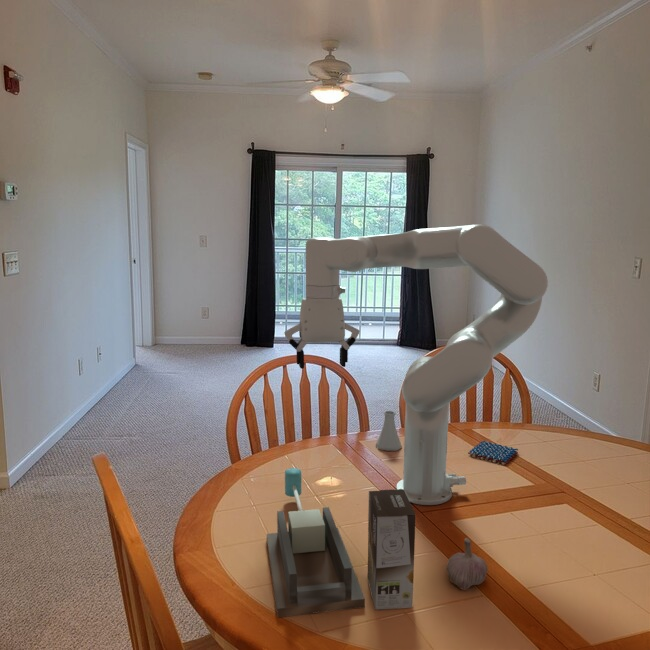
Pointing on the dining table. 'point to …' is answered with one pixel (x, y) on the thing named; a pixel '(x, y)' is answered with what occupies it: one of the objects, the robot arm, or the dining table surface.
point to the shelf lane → (312, 573)
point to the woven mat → (493, 452)
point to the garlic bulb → (466, 568)
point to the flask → (389, 434)
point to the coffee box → (391, 549)
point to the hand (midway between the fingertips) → (322, 366)
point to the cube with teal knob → (303, 519)
